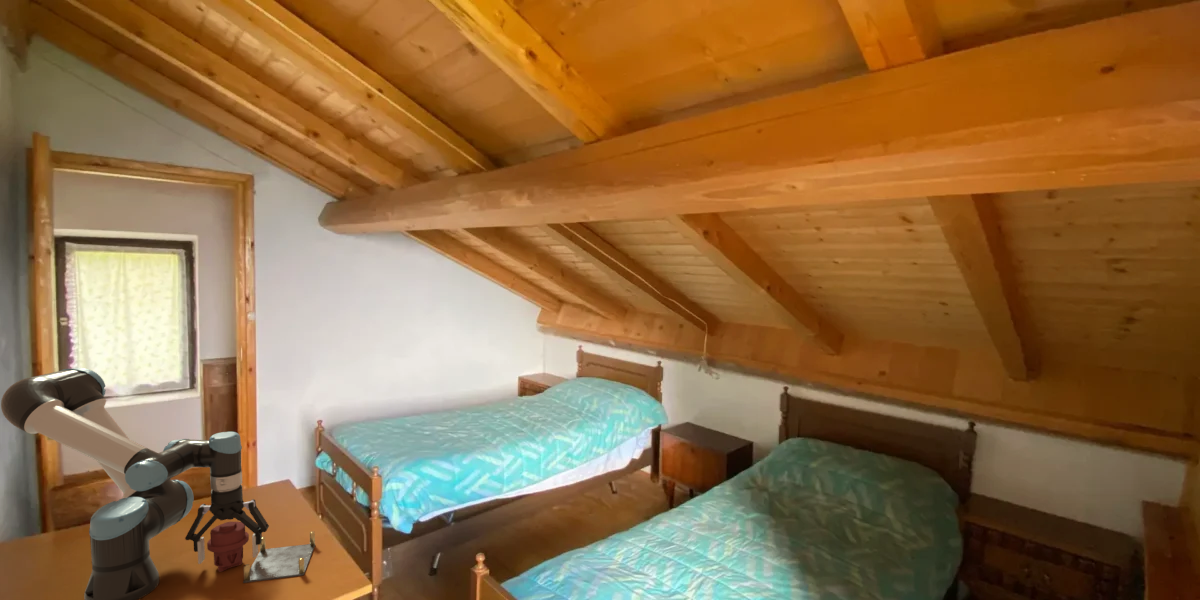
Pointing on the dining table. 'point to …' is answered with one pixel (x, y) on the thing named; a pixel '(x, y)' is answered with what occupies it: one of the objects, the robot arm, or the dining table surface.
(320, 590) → the dining table surface
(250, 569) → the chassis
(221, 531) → the mechanical component
